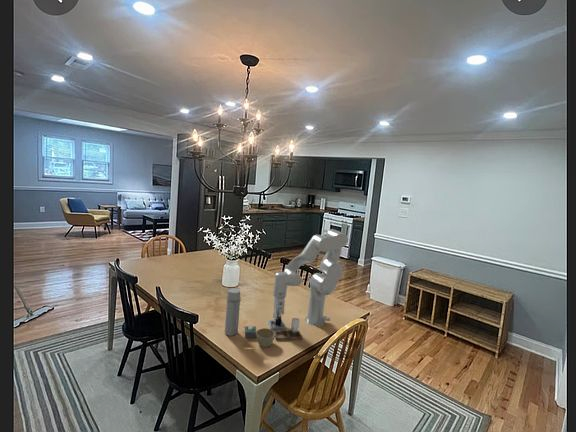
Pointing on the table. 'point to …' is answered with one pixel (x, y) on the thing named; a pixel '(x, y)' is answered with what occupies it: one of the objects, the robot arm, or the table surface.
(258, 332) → the flower pot
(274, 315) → the billet
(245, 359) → the table surface
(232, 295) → the water bottle
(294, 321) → the billet
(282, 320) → the tote
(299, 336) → the pallet board
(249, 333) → the console
